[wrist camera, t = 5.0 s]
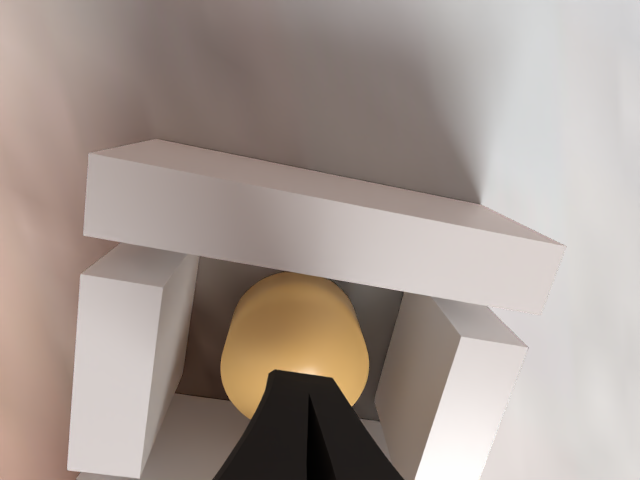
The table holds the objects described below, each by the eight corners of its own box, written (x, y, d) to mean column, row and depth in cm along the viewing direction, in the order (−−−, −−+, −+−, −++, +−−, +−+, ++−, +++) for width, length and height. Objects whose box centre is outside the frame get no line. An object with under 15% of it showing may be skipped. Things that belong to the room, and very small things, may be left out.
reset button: (222, 375, 13) (210, 421, 11) (242, 260, 12) (232, 289, 10) (342, 392, 13) (350, 439, 11) (370, 283, 12) (385, 314, 10)
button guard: (125, 428, 14) (61, 551, 10) (156, 138, 11) (88, 153, 8) (401, 463, 15) (439, 585, 11) (481, 204, 12) (566, 246, 9)
